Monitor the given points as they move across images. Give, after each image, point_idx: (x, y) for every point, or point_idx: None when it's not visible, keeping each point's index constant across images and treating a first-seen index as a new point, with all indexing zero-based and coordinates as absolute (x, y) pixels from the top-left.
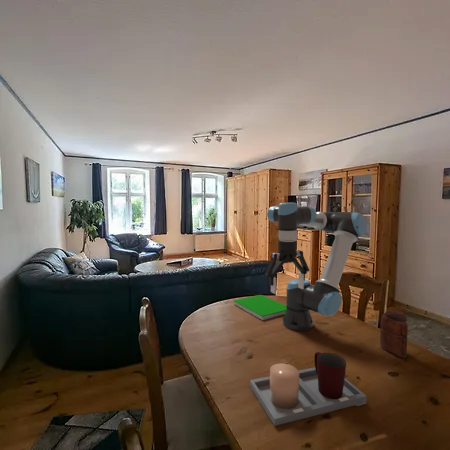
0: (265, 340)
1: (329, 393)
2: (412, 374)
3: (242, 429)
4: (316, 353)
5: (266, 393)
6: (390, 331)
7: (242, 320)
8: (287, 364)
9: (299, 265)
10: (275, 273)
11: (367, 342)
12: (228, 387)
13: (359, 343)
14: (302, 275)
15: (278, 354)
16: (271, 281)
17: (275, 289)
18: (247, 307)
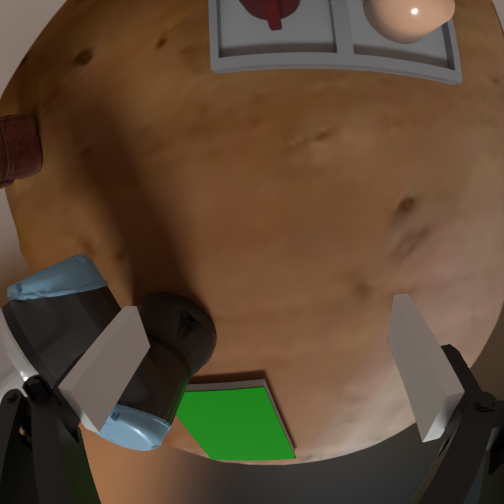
0: (317, 278)
1: None
2: (56, 58)
3: (482, 7)
4: (278, 7)
5: (428, 44)
6: (2, 147)
7: (320, 390)
8: (399, 7)
9: (49, 480)
10: (462, 443)
11: (53, 191)
12: (490, 108)
13: (69, 190)
14: (75, 381)
15: (319, 190)
16: (463, 371)
17: (408, 313)
18: (280, 429)
